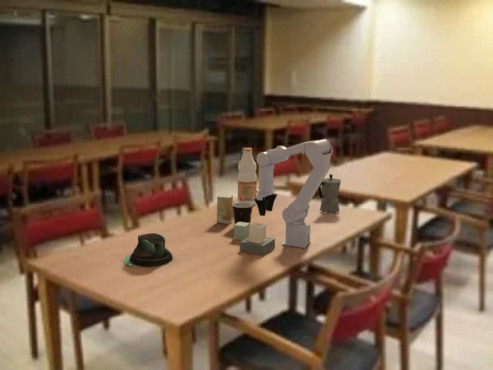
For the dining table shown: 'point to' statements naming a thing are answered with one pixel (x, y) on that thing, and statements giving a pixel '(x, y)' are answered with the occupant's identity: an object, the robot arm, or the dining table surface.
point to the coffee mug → (242, 212)
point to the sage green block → (241, 230)
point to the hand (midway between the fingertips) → (265, 213)
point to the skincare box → (224, 209)
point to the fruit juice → (247, 178)
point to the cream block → (257, 232)
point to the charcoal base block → (257, 246)
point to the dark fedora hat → (149, 252)
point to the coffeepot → (329, 194)
